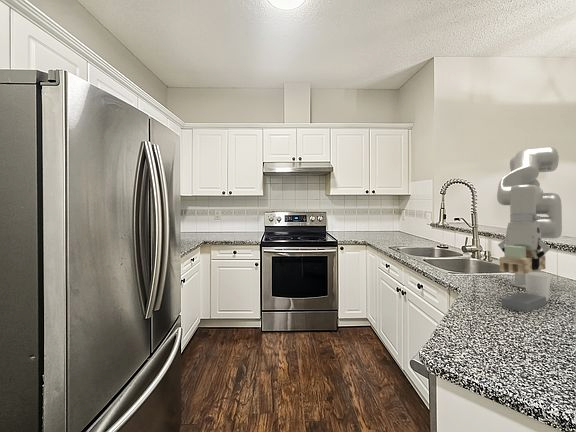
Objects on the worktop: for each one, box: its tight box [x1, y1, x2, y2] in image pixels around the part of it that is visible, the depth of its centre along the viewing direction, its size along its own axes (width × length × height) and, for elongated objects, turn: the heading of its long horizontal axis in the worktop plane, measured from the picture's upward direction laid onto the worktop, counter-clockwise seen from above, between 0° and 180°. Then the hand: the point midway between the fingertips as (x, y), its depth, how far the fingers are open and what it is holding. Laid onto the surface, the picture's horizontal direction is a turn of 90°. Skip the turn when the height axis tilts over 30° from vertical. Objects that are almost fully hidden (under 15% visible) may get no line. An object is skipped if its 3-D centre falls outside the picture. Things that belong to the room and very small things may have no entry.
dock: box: [501, 291, 547, 313], centre depth 118 cm, size 15×8×3 cm, turn 121°
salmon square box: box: [526, 250, 540, 256], centre depth 120 cm, size 4×5×4 cm
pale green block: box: [504, 245, 526, 259], centre depth 114 cm, size 4×5×4 cm
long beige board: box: [499, 254, 546, 274], centre depth 117 cm, size 18×7×5 cm, turn 121°
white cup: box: [525, 272, 551, 302], centre depth 126 cm, size 8×8×10 cm
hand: (522, 267), depth 117 cm, fingers closed on long beige board, 7 cm apart
